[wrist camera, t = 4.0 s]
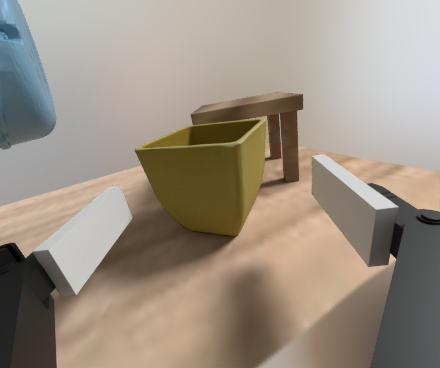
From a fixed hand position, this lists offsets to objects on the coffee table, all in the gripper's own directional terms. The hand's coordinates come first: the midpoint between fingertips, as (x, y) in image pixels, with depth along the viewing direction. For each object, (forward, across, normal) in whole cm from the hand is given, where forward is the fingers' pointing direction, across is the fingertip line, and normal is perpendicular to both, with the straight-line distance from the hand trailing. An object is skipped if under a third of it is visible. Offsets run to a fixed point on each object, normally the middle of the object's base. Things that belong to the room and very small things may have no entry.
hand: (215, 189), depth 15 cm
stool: (+17, +3, -6) cm, 19 cm away
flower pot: (+5, -1, -6) cm, 8 cm away
